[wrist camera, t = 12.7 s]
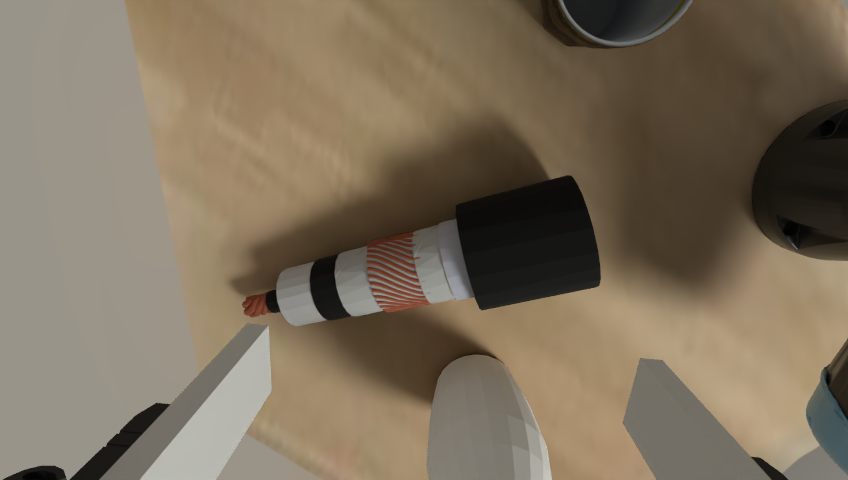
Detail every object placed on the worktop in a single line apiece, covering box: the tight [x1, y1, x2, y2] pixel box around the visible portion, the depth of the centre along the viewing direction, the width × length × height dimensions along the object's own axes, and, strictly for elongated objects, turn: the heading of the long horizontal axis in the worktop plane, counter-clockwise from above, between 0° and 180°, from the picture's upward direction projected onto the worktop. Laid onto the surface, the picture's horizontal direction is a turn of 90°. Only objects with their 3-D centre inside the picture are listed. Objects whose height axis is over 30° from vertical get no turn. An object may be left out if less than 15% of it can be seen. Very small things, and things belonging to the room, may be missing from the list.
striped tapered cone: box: [242, 176, 601, 326], centre depth 39 cm, size 10×34×10 cm, turn 106°
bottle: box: [426, 354, 552, 480], centre depth 35 cm, size 11×11×25 cm
